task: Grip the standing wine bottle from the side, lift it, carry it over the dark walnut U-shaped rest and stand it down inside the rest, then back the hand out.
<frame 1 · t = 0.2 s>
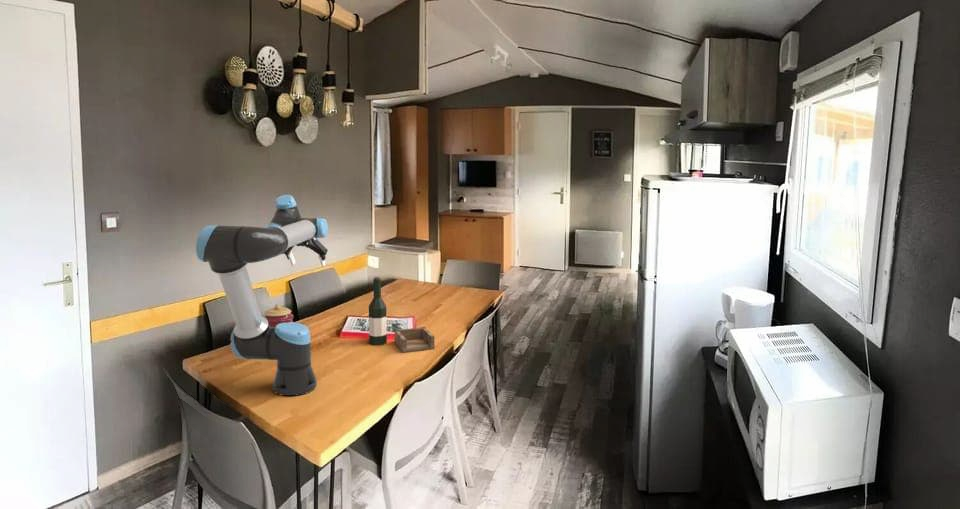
hand: (308, 264, 244), 35 cm above the table, tool tilted 35°, fingers open, 13 cm apart
walnut rest: (414, 345, 247), on the table
canister: (279, 343, 249), on the table
wine bottle: (378, 342, 251), on the table
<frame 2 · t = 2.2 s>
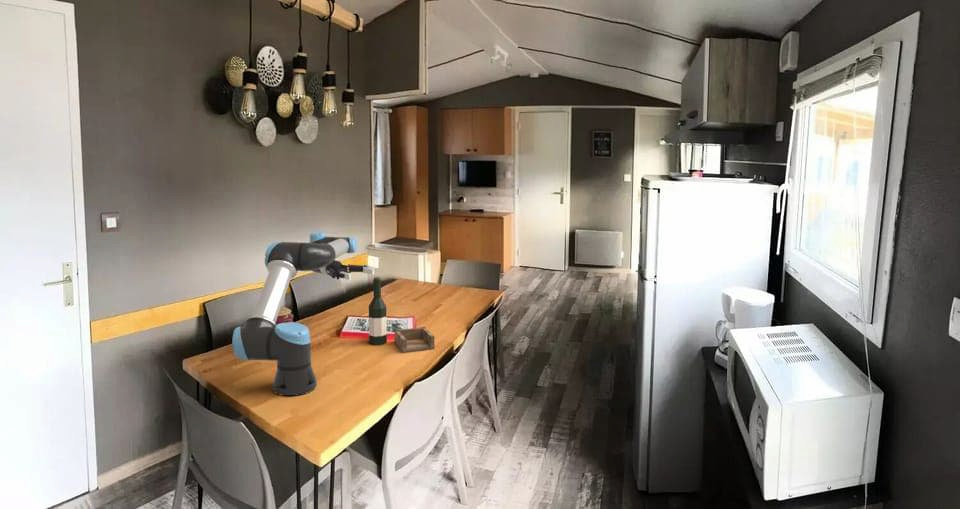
hand: (362, 274, 251), 30 cm above the table, tool horizontal, fingers open, 13 cm apart
nothing on the table moved.
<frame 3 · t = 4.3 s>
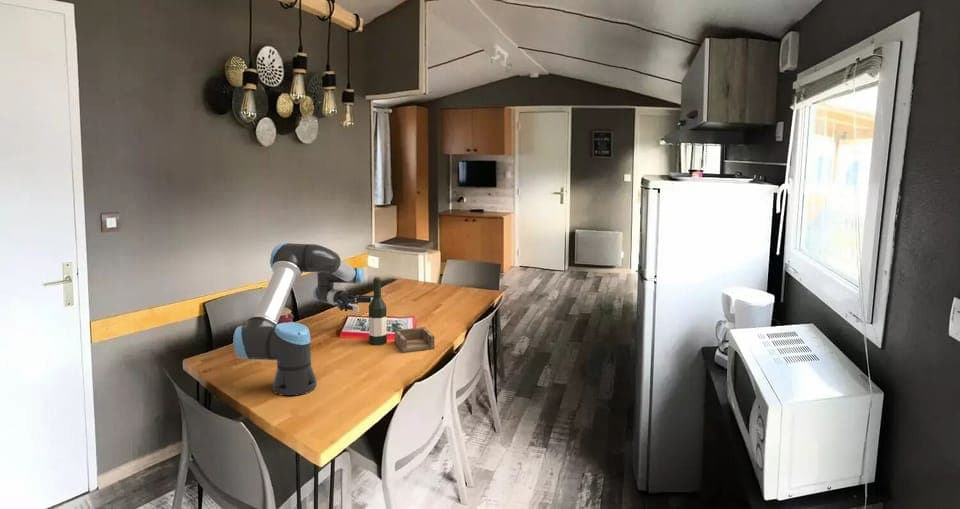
hand: (370, 306, 252), 16 cm above the table, tool horizontal, fingers open, 13 cm apart
nothing on the table moved.
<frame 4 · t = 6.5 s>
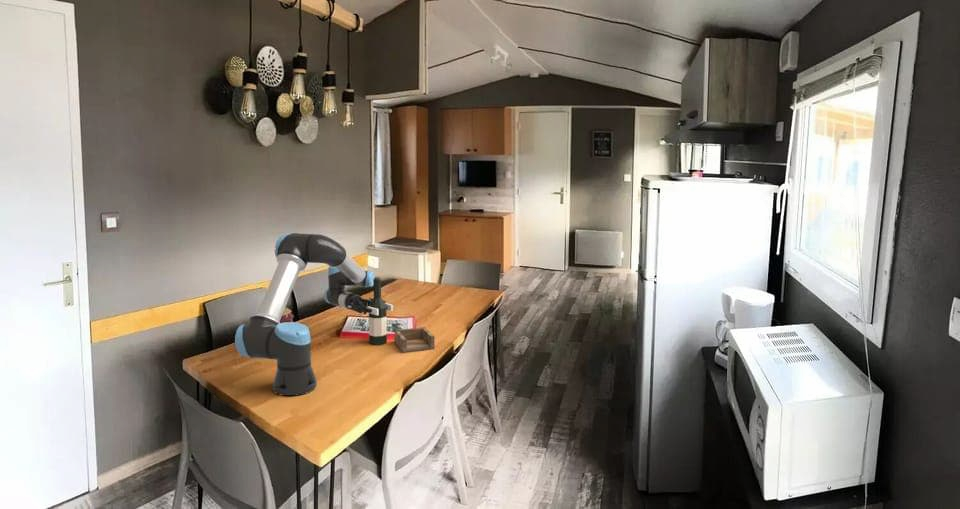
hand: (385, 310, 245), 16 cm above the table, tool horizontal, fingers closed on wine bottle, 8 cm apart
wine bottle: (378, 342, 251), on the table, touching gripper
everything else where it was.
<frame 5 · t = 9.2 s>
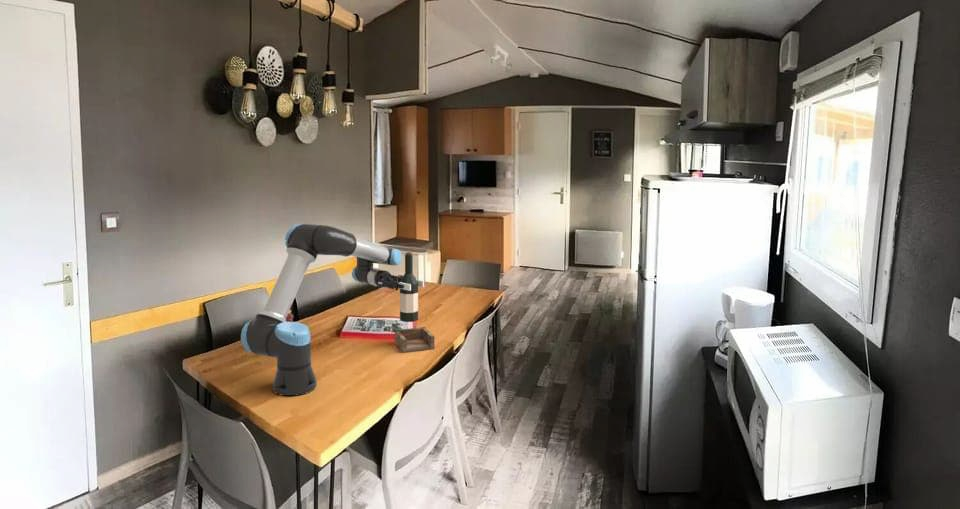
hand: (417, 285, 241), 28 cm above the table, tool horizontal, fingers closed on wine bottle, 8 cm apart
wine bottle: (408, 319, 247), point 12 cm above the table, touching gripper
everything else where it was.
when the fingers open (18 cm above the table, at t = 11.8 s): wine bottle drops 1 cm, resting on walnut rest.
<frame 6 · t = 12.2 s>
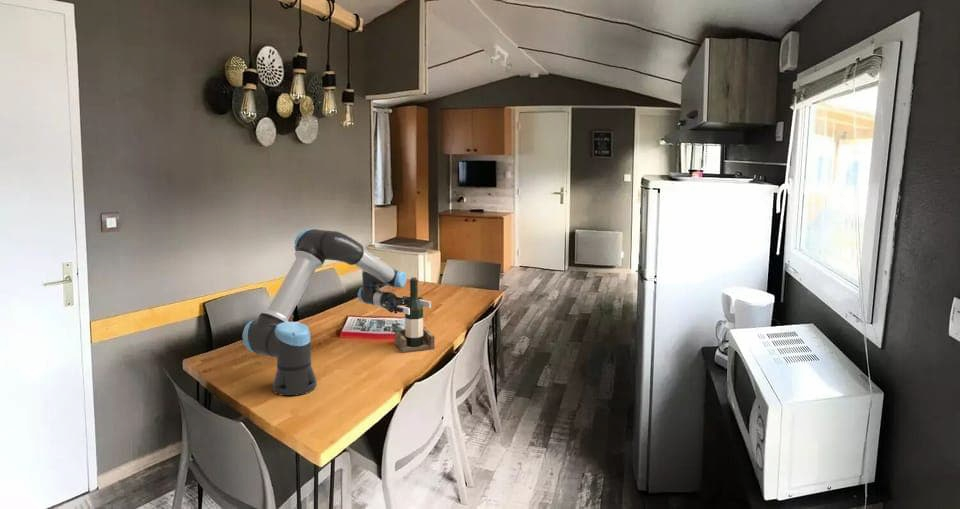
hand: (420, 308, 242), 18 cm above the table, tool horizontal, fingers open, 13 cm apart
wine bottle: (414, 344, 247), point 1 cm above the table, touching walnut rest
everything else where it was.
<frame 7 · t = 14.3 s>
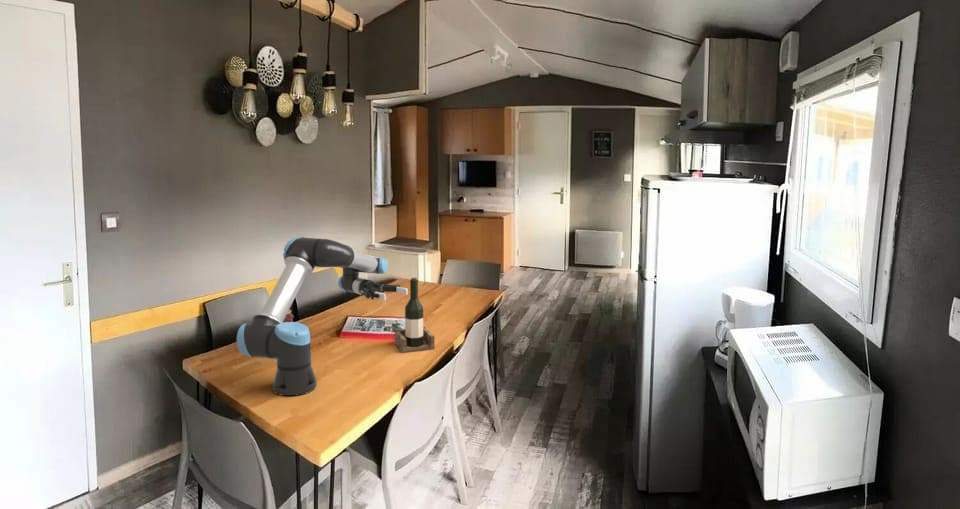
hand: (396, 294, 250), 22 cm above the table, tool horizontal, fingers open, 13 cm apart
nothing on the table moved.
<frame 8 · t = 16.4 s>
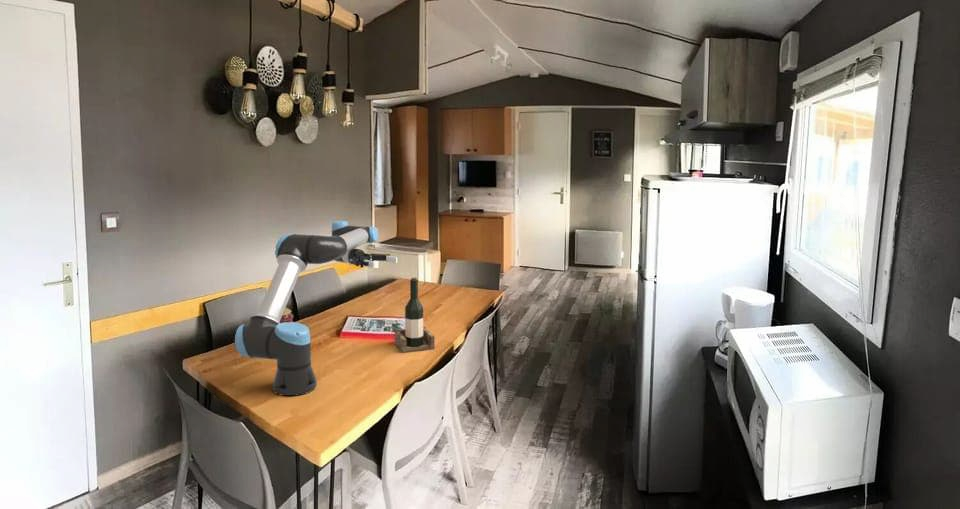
hand: (386, 262, 248), 36 cm above the table, tool horizontal, fingers open, 13 cm apart
nothing on the table moved.
at the end: wine bottle inside the target area on the walnut rest (0.3 cm from its centre), point 0.6 cm above the walnut rest's base; wine bottle tilted 0°; the gripper is holding nothing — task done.
